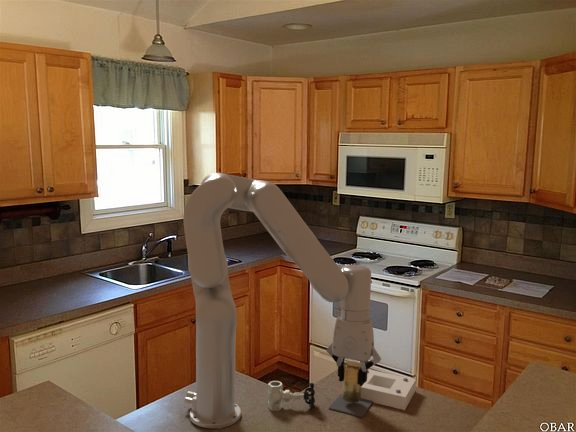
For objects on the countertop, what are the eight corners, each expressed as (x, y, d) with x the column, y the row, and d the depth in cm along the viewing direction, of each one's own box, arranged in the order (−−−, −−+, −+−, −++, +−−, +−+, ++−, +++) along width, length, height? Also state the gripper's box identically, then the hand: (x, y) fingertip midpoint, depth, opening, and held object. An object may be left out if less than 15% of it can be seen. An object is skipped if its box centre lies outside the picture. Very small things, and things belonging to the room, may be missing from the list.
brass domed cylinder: (339, 399, 134) (341, 366, 133) (345, 392, 138) (347, 360, 137) (357, 404, 132) (358, 370, 131) (363, 396, 136) (364, 363, 135)
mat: (328, 409, 133) (328, 407, 133) (341, 394, 141) (341, 393, 141) (362, 417, 129) (362, 416, 129) (372, 402, 137) (373, 401, 137)
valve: (267, 414, 130) (314, 414, 131) (267, 389, 129) (315, 389, 130) (266, 402, 137) (311, 401, 137) (267, 378, 136) (312, 377, 137)
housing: (346, 396, 141) (346, 382, 140) (360, 379, 151) (360, 366, 151) (404, 410, 134) (405, 395, 133) (415, 391, 144) (415, 378, 144)
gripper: (318, 312, 133) (316, 380, 135) (383, 323, 125) (379, 394, 128) (329, 305, 139) (327, 369, 142) (391, 315, 132) (388, 383, 134)
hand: (352, 381), depth 135 cm, fingers closed on brass domed cylinder, 4 cm apart
